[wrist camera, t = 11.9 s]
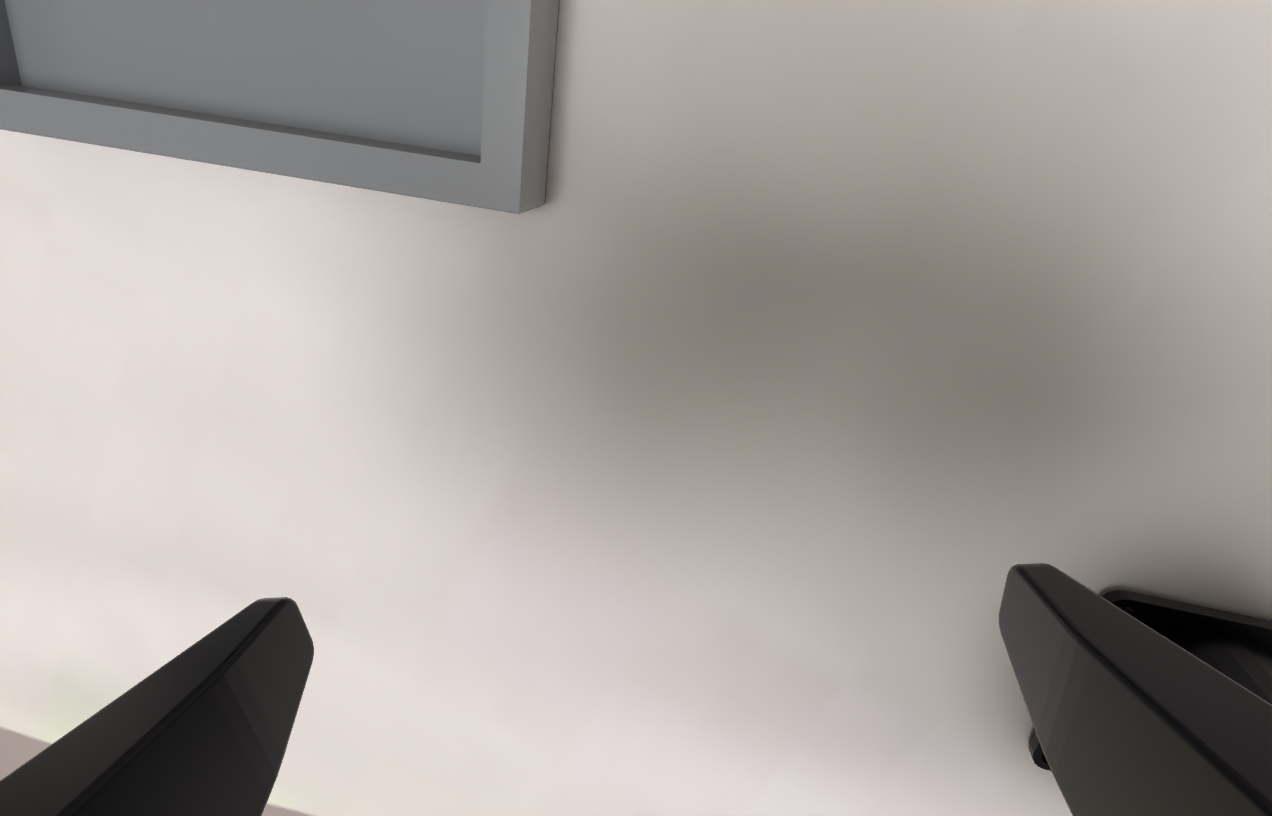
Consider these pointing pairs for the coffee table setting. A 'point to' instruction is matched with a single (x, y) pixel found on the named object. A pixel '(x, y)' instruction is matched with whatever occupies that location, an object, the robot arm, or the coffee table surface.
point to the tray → (299, 88)
